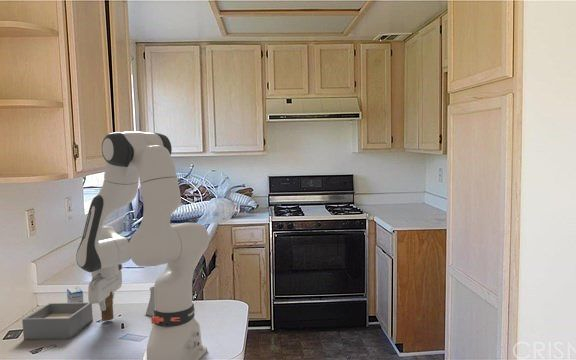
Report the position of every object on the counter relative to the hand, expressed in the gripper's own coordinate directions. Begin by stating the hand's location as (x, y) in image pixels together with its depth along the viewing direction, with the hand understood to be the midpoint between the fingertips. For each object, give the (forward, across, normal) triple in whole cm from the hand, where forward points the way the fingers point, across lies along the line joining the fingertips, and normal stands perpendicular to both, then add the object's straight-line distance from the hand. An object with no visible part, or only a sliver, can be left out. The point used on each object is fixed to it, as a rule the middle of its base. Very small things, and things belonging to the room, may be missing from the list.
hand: (107, 307), depth 166 cm
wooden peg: (+4, 0, 0) cm, 4 cm away
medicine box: (+5, +12, +18) cm, 23 cm away
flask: (+6, +8, -15) cm, 18 cm away
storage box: (+5, -7, +14) cm, 17 cm away
